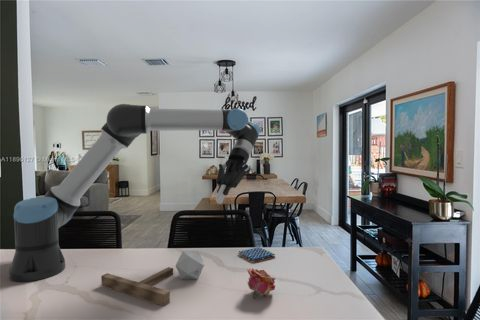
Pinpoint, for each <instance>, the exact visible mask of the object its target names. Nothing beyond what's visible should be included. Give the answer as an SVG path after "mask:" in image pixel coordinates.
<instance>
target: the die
mask: <svg viewBox="0 0 480 320" xmlns="http://www.w3.org/2000/svg"><path fill="white" fill-rule="evenodd" d="M204 266H205V263H204V261H203V258H202V255H201V253H200V251H199V250H192V251H191V250H187V251H186V250H183V251H182V252H181V254H180V255H179V257H178V260H177V262H176V263H175V267H176V270H177V273H178V275H179V277H180V280H199V278H200V276H201V274H202V272H203V268H204Z"/></svg>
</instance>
